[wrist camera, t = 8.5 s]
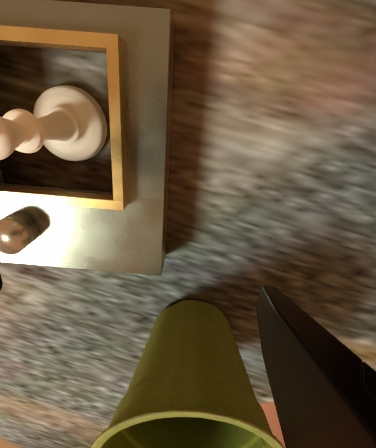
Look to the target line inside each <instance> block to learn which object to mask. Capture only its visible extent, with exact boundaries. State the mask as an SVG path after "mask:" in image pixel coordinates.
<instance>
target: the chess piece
mask: <svg viewBox="0 0 376 448" xmlns="http://www.w3.org/2000/svg"><path fill="white" fill-rule="evenodd" d="M106 137H107V123H106V118H105V115H104V113H103V111H102V109H101V107H100V105H99V104H98V102H97V101H96V100H95V99H94V98H93V97H92V96H91V95H90V94H89V93H87V92H86V91H84V90H82V89H80V88H78V87H75V86H70V85H60V86H55V87H52V88H49V89H47V90H46V91H44V92H43V93H42V94H41V95H40V96H39V98H38V99H37V101H36V103H35V106H34V110H33V114H32V113H30V112H28V111H26V110H23V109H13V110H10V111H9V112H7V113H6V114H5V115H4V116H3V117H1V116H0V160H3V159H5V158H7V157H8V156H10V155H11V154H12V153H13V152H14V150H17V151H19V152H23V153H34V152H36V151H38V150H39V149H40V148H41V147H42V146H43V145H44V146H45V147H46V148H47V149H48V150H49V151H50V152H51V153H53V154H54V155H56V156H58V157H60V158H62V159H65V160H69V161H81V160H87V159H89V158H92V157H93V156H95V155H96V154H97V153H98V152H99V151H100V150H101V149H102V147H103V146H104V143H105V141H106Z"/></svg>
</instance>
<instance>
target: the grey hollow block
mask: <svg viewBox="0 0 376 448" xmlns="http://www.w3.org/2000/svg"><path fill="white" fill-rule="evenodd" d="M175 28H176V26H175V22H174V19H173V16H172V13H171V9H163V8H150V7H136V6H123V5H109V4H96V3H82V2H69V1H55V0H0V45H5V46H18V47H31V48H45V49H58V50H71V51H84V52H97V53H106V54H107V75H108V96H109V117H110V138H111V159H112V180H113V192H103V191H90V190H78V189H66V188H54V187H42V186H29V185H17V184H5V183H3V178H2V174H1V169H0V262H8V263H20V264H31V265H43V266H55V267H67V268H78V269H90V270H102V271H113V272H125V273H137V274H149V275H160V276H161V274H162V269H163V265H164V261H165V257H166V240H167V217H168V193H169V170H170V146H171V123H172V99H173V76H174V52H175Z"/></svg>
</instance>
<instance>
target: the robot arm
mask: <svg viewBox="0 0 376 448" xmlns="http://www.w3.org/2000/svg"><path fill="white" fill-rule="evenodd" d="M1 288H2V279H1V275H0V290H1ZM256 309H257V318H258V326H259V333H260V340H261V348H262V354H263V359H264V363H265V367H266V371H267V375H268V379H269V383H270V387H271V391H272V395H273V399H274V403H275V406H276V410H277V415H278V418H279V422H280V426H281V430H282V434H283V438H284V442H285V446H286V448H376V371H375V370H374V369H372V368H371V367H370V366H369V365H368V364H366V363H365V362H362V360H361V359H360V358H359V357H358V356H357V355H356V354H354V353H353V352H352V351H351V350H350V349H348V348H347V347H346V346H345V345H344V344H342V343H341V342H340V341H339V340H338V339H337V338H335V337H334V336H333V335H332V334H331V333H329V332H328V331H327V330H326V329H325V328H323V327H322V326H321V325H320V324H319V323H318V322H316V321H315V320H314V319H313V318H312V317H310V316H309V315H308V314H307V313H306V312H304V311H303V310H302V309H301V308H300V307H298V306H297V305H296V304H295V303H294V302H293V301H291V300H290V299H289V298H288V297H287V296H285V295H284V294H283V293H282V292H281V291H279V290H278V289H277V288H276V287H274V286H267V285H263V286H261V288H260V292H259V297H258V301H257V308H256Z"/></svg>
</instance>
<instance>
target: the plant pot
mask: <svg viewBox="0 0 376 448" xmlns="http://www.w3.org/2000/svg"><path fill="white" fill-rule="evenodd" d="M91 448H284V446H283V445H282V443H281V442H280V441H279V440H278V439H277V438H276V437H275V436H274V435H273V434H272V432H271V429H270V427H269V424H268V421H267V419H266V416H265V413H264V411H263V409H262V407H261V406H260V404H259V403H258V401H257V399H256V397H255V394H254V391H253V389H252V386H251V383H250V380H249V377H248V375H247V372H246V369H245V366H244V364H243V361H242V358H241V355H240V353H239V350H238V347H237V344H236V342H235V339H234V336H233V333H232V330H231V327H230V324H229V322H228V320H227V318H226V317H225V316H224V314H223V313H222V312H221V310H219V309H218V308H217V307H215V306H213V305H211V304H209V303H207V302H203V301H198V300H184V301H180V302H178V303H176V304H175V305H172V306H170V307H167V308H165V309H164V310H163V311H162V312H161V313H160V315H159V316H158V317H157V319H156V322H155V324H154V327H153V329H152V332H151V334H150V337H149V339H148V342H147V344H146V346H145V349H144V351H143V354H142V356H141V359H140V361H139V364H138V366H137V368H136V371H135V373H134V376H133V378H132V381H131V383H130V385H129V388H128V390H127V393H126V395H125V396H124V398H123V399H122V400H121V402H120V403H119V405H118V407H117V410H116V412H115V414H114V416H113V419H112V421H111V423H110V425H109V427H108V428H107V429H106V430H104V431H103V432H102V433H101V434H100V435H99V437H98V438H97V439H96V440H95V442H94V443H93V445H92V447H91Z"/></svg>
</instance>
